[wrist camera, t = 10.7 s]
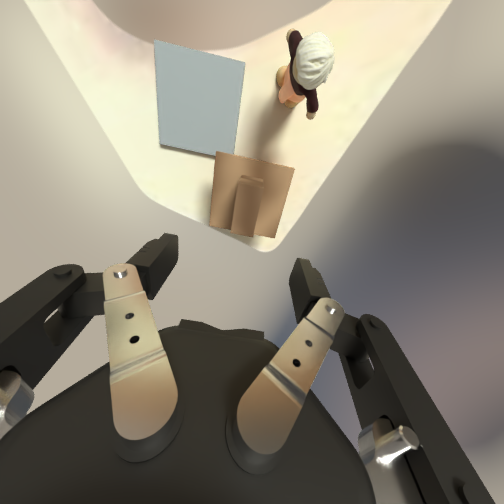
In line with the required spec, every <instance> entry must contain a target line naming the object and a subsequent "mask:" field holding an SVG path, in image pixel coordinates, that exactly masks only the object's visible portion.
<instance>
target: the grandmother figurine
mask: <svg viewBox="0 0 504 504" xmlns="http://www.w3.org/2000/svg"><path fill="white" fill-rule="evenodd" d="M286 39H287V42H288V45H289V51H290V56H291V61H290V63H289V65H288V66H282V67H280V68H279V70H278V72H277V76H276V77H277V83H278V84H279V85H280V86H281V89H280V91H279V100H280V102H281V103H285V105H286V107H288V108H293V107H295V106H296V105H297V104H298V103H299V102H301V101H302V100H303V99H304V98H305V97H306V98H307V103H306V104H307V114H306V116H307V118H308V119H310V120H311V119H313V118H314V117H315V114H316V111H317V110H318V99H317V93H316V88H317V87H318V86H319V85H320V84H321V83H325V82H326V80H327V77H328V75H329V73H330V72H331V70H332V68H333V64H334V47H333V44H332V43H331V41H330V40H329V39H328V38H327V36H325V35H324V34H323V33H321V32H314V33H312V34H310V35H308V36H306V37H304V38H302V36H301V35H300V33H299V31H297V30H295V29H290V30H289V31H288V33H287V36H286Z"/></svg>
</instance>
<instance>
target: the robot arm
mask: <svg viewBox="0 0 504 504" xmlns="http://www.w3.org/2000/svg"><path fill="white" fill-rule="evenodd" d="M177 261H178V236H177V235H173V234H168V233H164V234H163V235H162V236H161V237H160V238H159V239H154V240H151V241H149V242H147V243H146V244H145V245H144V246H143V248H141V249H140V250H139V251H138V252H137V253H136V254H135V255H134V256H133V257H131V258H130V259H129V260H128V261H127V262H126V263H121V264H116V265H112V266H110V267H108V268H107V269H106V270H105V271H104V272H103V273H84V270H83V268H82V267H81V266H79V265H75V264H67V265H61V266H57V267H54V268H52V269H49V270H48V271H46V272H45V273H43V274H42V275H40V276H39V277H38V278H36V279H35V280H33V281H32V282H30V283H29V284H27V285H26V286H24V287H23V288H22V289H20V290H19V291H17V292H16V293H14V294H13V295H12V296H10V297H9V298H7V299H6V300H5V301H3V302H1V303H0V504H495V502H494V500H493V499H492V497H491V496H490V494H489V492H488V491H487V489H486V487H485V486H484V484H483V482H482V481H481V479H480V478H479V476H478V474H477V473H476V471H475V469H474V468H473V466H472V464H471V463H470V461H469V459H468V458H467V456H466V455H465V453H464V451H463V450H462V448H461V447H460V445H459V443H458V441H457V440H456V438H455V437H454V435H453V434H452V432H451V430H450V429H449V427H448V425H447V423H446V422H445V420H444V419H443V417H442V415H441V414H440V412H439V410H438V409H437V407H436V405H435V404H434V402H433V401H432V399H431V397H430V396H429V394H428V392H427V391H426V389H425V388H424V386H423V384H422V382H421V381H420V379H419V378H418V376H417V374H416V373H415V371H414V370H413V368H412V366H411V364H410V363H409V361H408V360H407V358H406V356H405V355H404V353H403V352H402V350H401V348H400V346H399V345H398V343H397V341H396V340H395V338H394V337H393V335H392V333H391V332H390V330H389V328H388V327H387V326H386V324H385V323H384V322H383V321H381V320H380V319H379V318H377V317H375V316H373V315H370V314H364V315H362V316H361V317H360V319H358V318H355V317H353V316H351V315H348V314H346V313H345V312H344V309H343V307H342V306H341V305H340V304H339V303H338V302H336V301H335V300H333V299H331V297H330V294H329V292H328V290H327V288H326V285H325V283H324V281H323V279H322V276H321V274H320V273H319V272H318V271H317V270H316V269H315V268H312V266H311V263H310V261H309V260H307V259H302V258H297V260H296V262H295V264H294V267H293V270H292V272H291V275H290V278H289V286H290V291H291V296H292V301H293V306H294V311H295V316H296V321H297V324H299V325H298V326H297V328H296V329H295V330H294V331H293V333H292V334H291V335H290V337H289V338H288V339H287V341H286V342H285V343H284V344H283V346H282V347H281V348H280V349H279V348H278V347H277V346H276V345H275V344H273V343H272V342H270V341H268V340H266V339H264V332H262V331H256V330H249V329H234V330H220V329H217V328H215V327H213V326H210V325H208V324H205V323H203V322H198V321H190V320H184V319H181V321H180V324H179V326H172V327H168V328H164V329H162V330H159V331H158V330H157V327H156V324H155V321H154V318H153V315H152V312H151V308H150V305H149V302H148V299H149V300H153V299H154V297H155V296H156V294H157V293H158V291H159V290H160V288H161V287H162V285H163V283H164V282H165V281H166V279H167V277H168V276H169V274H170V273H171V271H172V270H173V268H174V267H175V265H176V263H177ZM56 309H58V311H57V312H56V313H55V314H54V315H52V316H51V318H50V319H48V320H47V321H46V322H45V320H46V318H47V317H48V316H49V315H50V314H51V313H52V312H53V311H54V310H56ZM95 315H105V320H106V331H107V341H108V351H109V362H108V363H106V364H105V365H103V366H102V367H100V368H99V369H97V370H95V371H94V372H93V373H91V374H89V375H88V376H86V377H84V378H83V379H81V380H80V381H78V382H77V383H75V384H74V385H72V386H70V387H69V388H67V389H66V390H64V391H63V392H61V393H60V394H58V395H56V396H55V397H53V398H52V399H50V400H49V401H47V402H45V403H44V404H42V405H41V406H40V407H38V408H36V409H35V410H33V411H32V412H30V413H29V414H27V411H28V410H29V408H30V407H31V405H32V403H33V400H34V392H33V389H34V388H35V387H36V385H37V384H38V383H39V382H40V381H41V379H42V378H43V377H44V376H45V374H46V373H47V372H48V371H49V370H50V369H51V367H52V366H53V365H54V364H55V363H56V361H57V360H58V359H59V358H60V357H61V355H62V354H63V353H64V352H65V351H66V349H67V348H68V347H69V346H70V345H71V343H72V342H73V341H74V340H75V338H76V337H77V336H78V335H79V334H80V332H81V331H82V330H83V329H84V328H85V326H86V325H87V324H88V323H89V322H90V320H91V319H92V318H93V317H94V316H95ZM44 322H45V323H44ZM329 349H331V350H333V351H336V352H338V353H339V356H340V359H341V363H342V366H343V369H344V373H345V376H346V379H347V382H348V386H349V389H350V392H351V395H352V399H353V402H354V405H355V408H356V412H357V415H358V418H359V421H360V425H361V428H362V431H361V432H360V433H359V436H358V446H359V454H358V452H357V451H356V449H355V448H354V446H353V445H352V443H351V442H350V441H349V439H348V438H347V437H346V435H345V434H344V433H343V431H342V430H341V429H340V427H339V426H338V425H337V424H336V422H335V421H334V419H333V418H332V417H331V415H330V414H329V413H328V411H327V410H326V409H325V407H324V406H323V405H322V404H321V402H320V401H319V399H318V398H317V397H316V395H315V394H314V393H313V391H312V390H311V389H310V387H311V385H312V383H313V381H314V379H315V377H316V375H317V373H318V371H319V369H320V366H321V365H322V363H323V360H324V358H325V356H326V354H327V352H328V350H329ZM369 357H370V359H371V362H372V364H373V367H374V370H373V368H372V365H371V363H370V361H369V359H368V358H369Z"/></svg>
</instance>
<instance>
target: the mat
mask: <svg viewBox="0 0 504 504" xmlns="http://www.w3.org/2000/svg"><path fill="white" fill-rule="evenodd" d="M154 47H155V66H156V84H157V103H158V121H159V140H160V144H163V145H168V146H172V147H177V148H181V149H186V150H191V151H195V152H200V153H205V154H209V155H214V156H215V154H216V151H220V152H224V153H229V154H233V155H234V149H235V141H236V133H237V125H238V117H239V110H240V102H241V94H242V86H243V78H244V70H245V62H242V61H238V60H234V59H230V58H226V57H222V56H218V55H214V54H210V53H206V52H202V51H198V50H194V49H190V48H186V47H182V46H178V45H174V44H170V43H166V42H162V41H158V40H154Z"/></svg>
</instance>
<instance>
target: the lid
mask: <svg viewBox="0 0 504 504" xmlns="http://www.w3.org/2000/svg"><path fill="white" fill-rule="evenodd" d="M294 170H295V169H294V168H292V167H287V166H283V165H278V164H274V163H269V162H265V161H260V160H256V159H251V158H247V157H242V156H238V155H233V154H229V153H224V152H220V151H216V154H215V166H214V177H213V189H212V201H211V213H210V224H209V226H214V227H219V228H224V229H229V230H231V233H234V234H239V235H244V236H249V237H253V235H254V234H255V235H260V236H265V237H270V238H275V235H276V232H277V228H278V225H279V222H280V218H281V215H282V211H283V208H284V204H285V201H286V197H287V194H288V191H289V187H290V184H291V180H292V177H293V173H294Z"/></svg>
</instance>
